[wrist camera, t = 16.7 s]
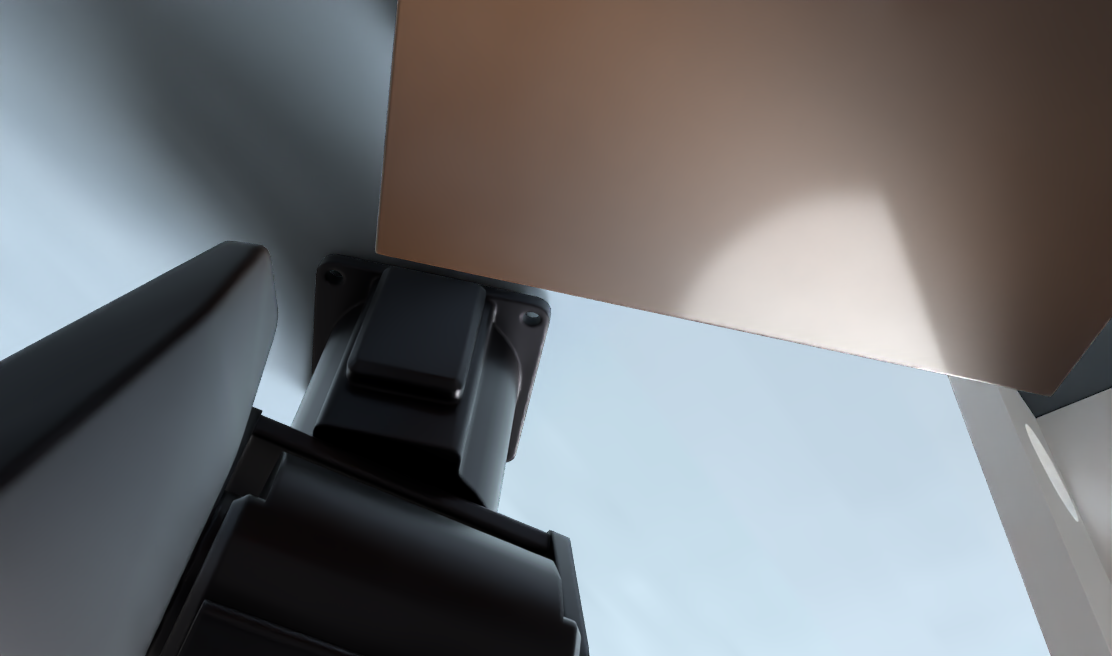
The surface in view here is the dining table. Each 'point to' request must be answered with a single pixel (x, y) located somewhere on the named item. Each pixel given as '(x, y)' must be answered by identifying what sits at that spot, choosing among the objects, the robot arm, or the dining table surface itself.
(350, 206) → the dining table surface
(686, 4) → the cabinet
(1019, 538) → the white bracket plate
